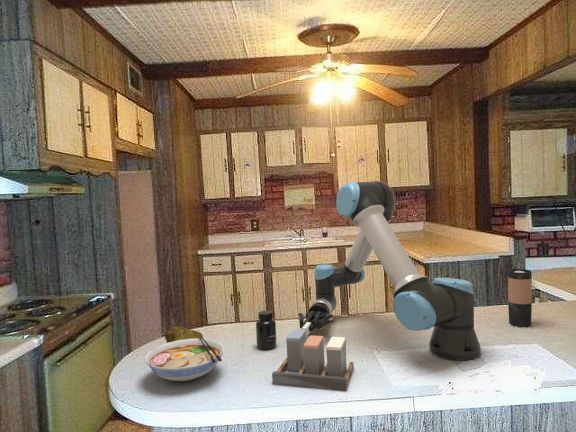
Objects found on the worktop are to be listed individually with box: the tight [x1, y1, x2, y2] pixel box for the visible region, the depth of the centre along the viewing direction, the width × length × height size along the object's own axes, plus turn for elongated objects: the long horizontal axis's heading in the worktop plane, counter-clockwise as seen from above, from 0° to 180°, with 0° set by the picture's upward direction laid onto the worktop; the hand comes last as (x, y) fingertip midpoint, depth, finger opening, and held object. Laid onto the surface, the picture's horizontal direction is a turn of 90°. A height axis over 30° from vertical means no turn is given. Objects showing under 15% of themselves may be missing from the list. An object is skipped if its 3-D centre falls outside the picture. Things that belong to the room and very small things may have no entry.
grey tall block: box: [326, 336, 348, 377], centre depth 122 cm, size 8×4×10 cm, turn 163°
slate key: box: [285, 328, 308, 372], centre depth 130 cm, size 8×4×10 cm, turn 163°
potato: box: [164, 326, 204, 343], centre depth 149 cm, size 8×13×8 cm, turn 107°
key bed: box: [271, 357, 355, 392], centre depth 123 cm, size 14×20×3 cm
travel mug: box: [507, 268, 533, 328], centre depth 158 cm, size 8×8×20 cm
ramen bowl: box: [144, 334, 225, 382], centre depth 127 cm, size 25×23×8 cm
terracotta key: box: [304, 335, 326, 375], centre depth 124 cm, size 8×4×10 cm, turn 163°
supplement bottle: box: [255, 310, 277, 351], centre depth 147 cm, size 7×7×12 cm
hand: (304, 332), depth 140 cm, fingers closed
